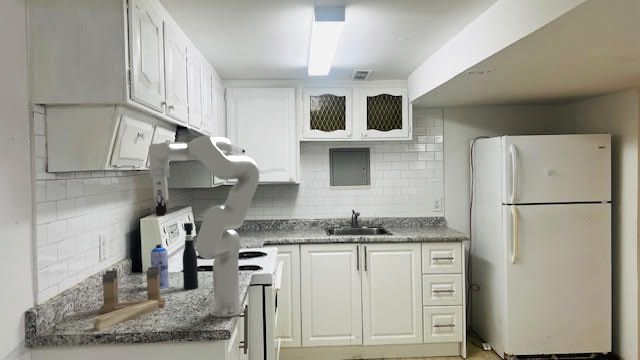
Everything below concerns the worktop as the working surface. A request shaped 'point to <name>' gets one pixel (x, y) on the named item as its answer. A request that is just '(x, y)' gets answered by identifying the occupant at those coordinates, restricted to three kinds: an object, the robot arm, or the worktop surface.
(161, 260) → the aerosol can
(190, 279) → the black tall bottle
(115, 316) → the maple bar
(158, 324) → the worktop surface
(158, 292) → the walnut rack
